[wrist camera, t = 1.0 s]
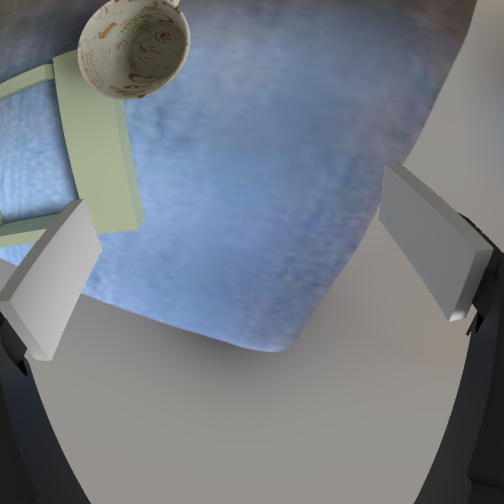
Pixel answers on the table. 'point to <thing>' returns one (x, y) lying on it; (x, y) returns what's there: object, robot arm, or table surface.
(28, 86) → the pale green rectangular frame
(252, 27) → the table surface
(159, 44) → the mug
